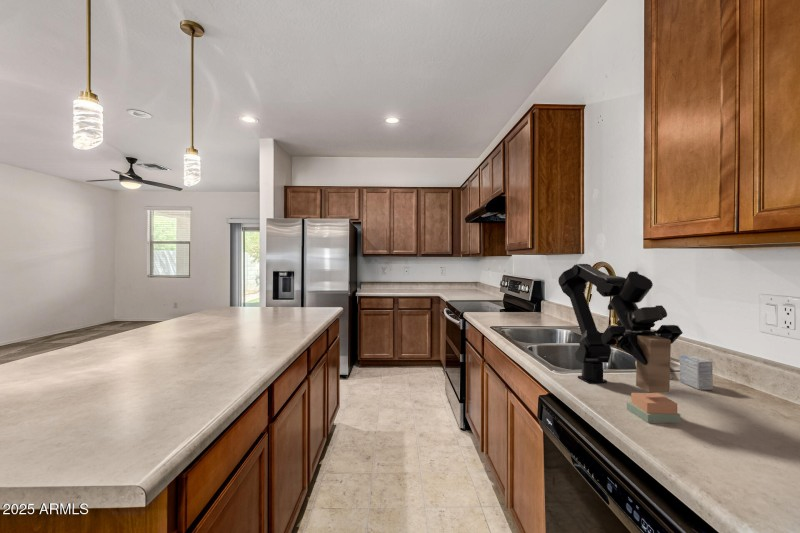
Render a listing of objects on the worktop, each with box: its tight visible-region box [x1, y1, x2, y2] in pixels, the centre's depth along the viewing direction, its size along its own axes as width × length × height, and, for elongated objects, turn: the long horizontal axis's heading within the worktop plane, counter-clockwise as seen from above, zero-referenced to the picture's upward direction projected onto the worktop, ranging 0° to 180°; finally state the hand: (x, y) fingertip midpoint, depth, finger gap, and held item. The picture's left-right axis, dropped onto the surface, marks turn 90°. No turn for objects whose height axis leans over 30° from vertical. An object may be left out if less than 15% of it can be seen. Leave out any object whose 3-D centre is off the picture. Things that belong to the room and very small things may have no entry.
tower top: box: [630, 392, 678, 414], centre depth 93 cm, size 7×7×2 cm
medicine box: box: [679, 354, 714, 391], centre depth 115 cm, size 8×4×9 cm, turn 179°
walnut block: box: [635, 336, 672, 394], centre depth 93 cm, size 5×5×13 cm
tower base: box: [626, 401, 681, 424], centre depth 93 cm, size 8×8×2 cm
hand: (656, 363), depth 92 cm, fingers closed on walnut block, 5 cm apart
